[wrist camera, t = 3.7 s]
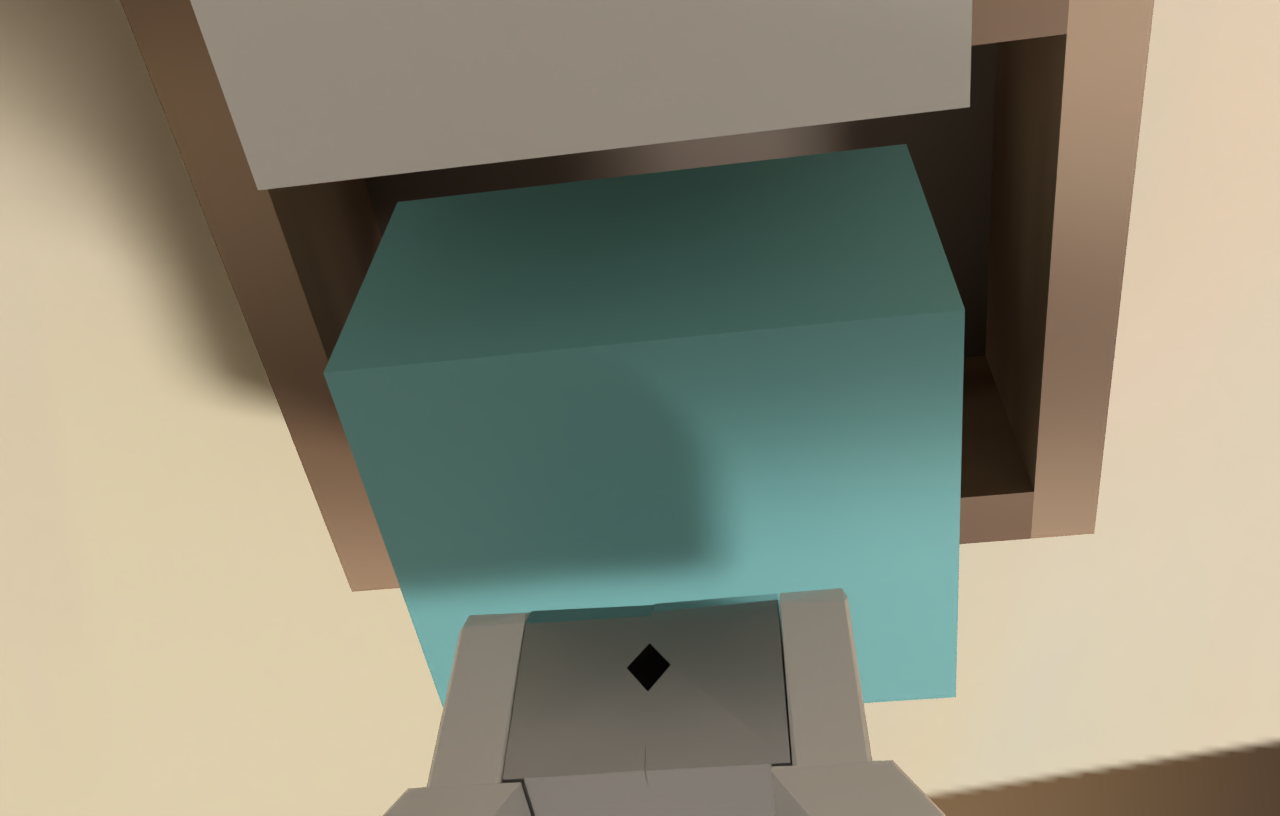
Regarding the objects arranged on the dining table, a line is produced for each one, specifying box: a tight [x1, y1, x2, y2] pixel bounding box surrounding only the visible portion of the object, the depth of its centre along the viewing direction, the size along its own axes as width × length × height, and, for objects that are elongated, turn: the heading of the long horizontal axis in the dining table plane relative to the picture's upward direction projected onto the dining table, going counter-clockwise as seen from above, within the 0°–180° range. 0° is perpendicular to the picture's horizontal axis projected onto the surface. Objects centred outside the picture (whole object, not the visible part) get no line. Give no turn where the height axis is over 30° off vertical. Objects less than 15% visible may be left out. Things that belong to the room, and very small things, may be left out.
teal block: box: [324, 144, 965, 708], centre depth 12 cm, size 4×5×4 cm
